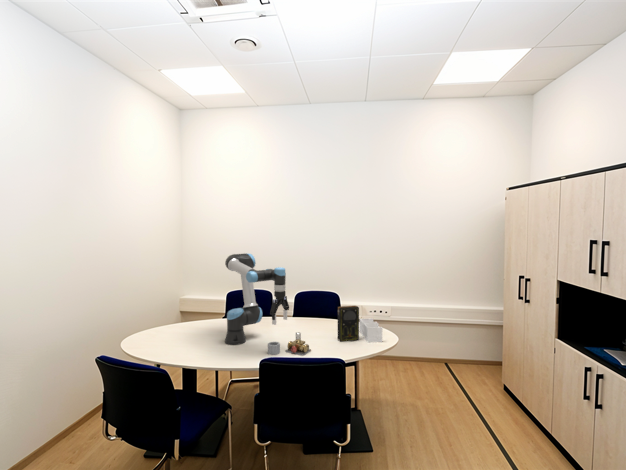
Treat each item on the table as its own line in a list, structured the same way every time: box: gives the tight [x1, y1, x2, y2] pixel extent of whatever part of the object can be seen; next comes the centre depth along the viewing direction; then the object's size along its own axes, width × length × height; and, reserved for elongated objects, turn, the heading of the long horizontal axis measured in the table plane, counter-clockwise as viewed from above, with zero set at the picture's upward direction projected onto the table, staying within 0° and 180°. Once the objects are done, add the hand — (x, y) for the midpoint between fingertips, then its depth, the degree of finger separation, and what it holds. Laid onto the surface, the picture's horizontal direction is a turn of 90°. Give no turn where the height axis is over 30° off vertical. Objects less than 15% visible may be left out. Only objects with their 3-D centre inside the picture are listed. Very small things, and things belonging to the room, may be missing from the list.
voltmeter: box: [337, 305, 360, 343], centre depth 258 cm, size 16×9×25 cm, turn 105°
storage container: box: [359, 317, 383, 343], centre depth 266 cm, size 25×11×11 cm, turn 6°
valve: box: [285, 331, 312, 357], centre depth 234 cm, size 14×11×12 cm
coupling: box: [267, 341, 281, 356], centre depth 232 cm, size 8×8×6 cm
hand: (279, 322), depth 234 cm, fingers open, 13 cm apart
